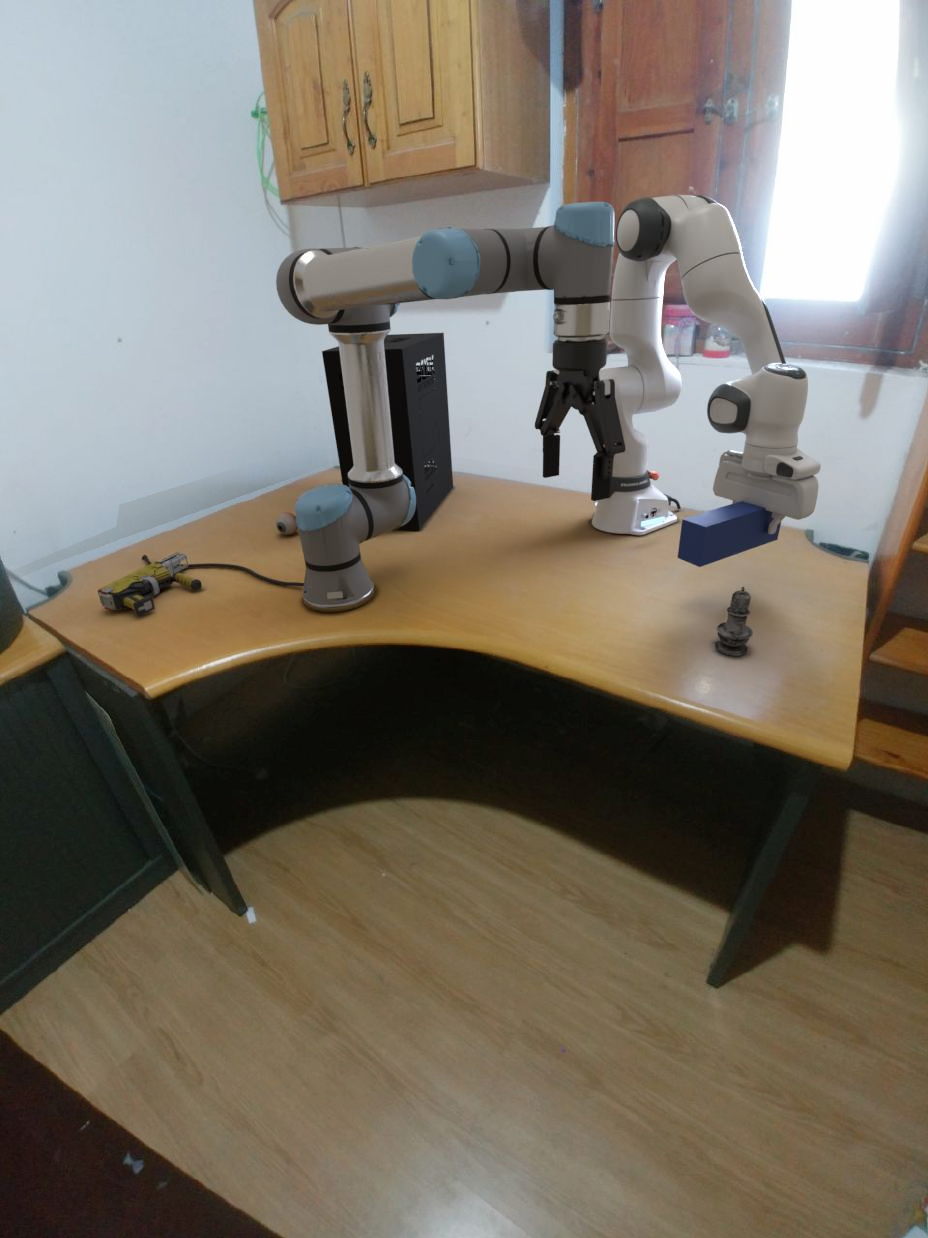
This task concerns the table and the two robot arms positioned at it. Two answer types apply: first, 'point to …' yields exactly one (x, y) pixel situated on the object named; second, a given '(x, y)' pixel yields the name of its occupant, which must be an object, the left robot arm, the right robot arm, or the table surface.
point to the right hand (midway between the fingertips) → (754, 527)
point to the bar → (724, 533)
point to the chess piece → (735, 626)
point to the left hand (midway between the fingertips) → (574, 487)
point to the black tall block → (406, 417)
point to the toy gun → (146, 585)
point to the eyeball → (286, 523)
